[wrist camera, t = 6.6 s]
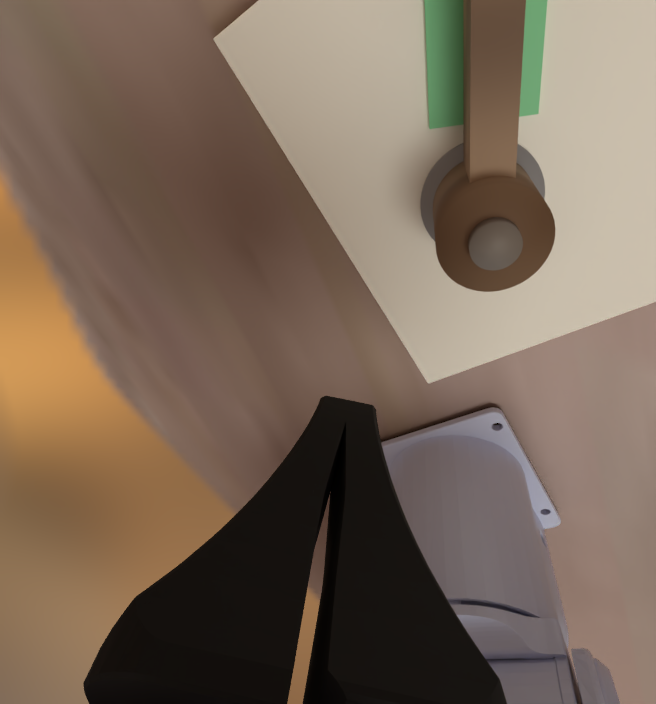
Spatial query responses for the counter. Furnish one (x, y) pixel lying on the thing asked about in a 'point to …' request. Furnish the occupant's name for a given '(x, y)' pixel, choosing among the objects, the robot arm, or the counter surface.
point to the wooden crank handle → (491, 163)
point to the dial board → (447, 151)
